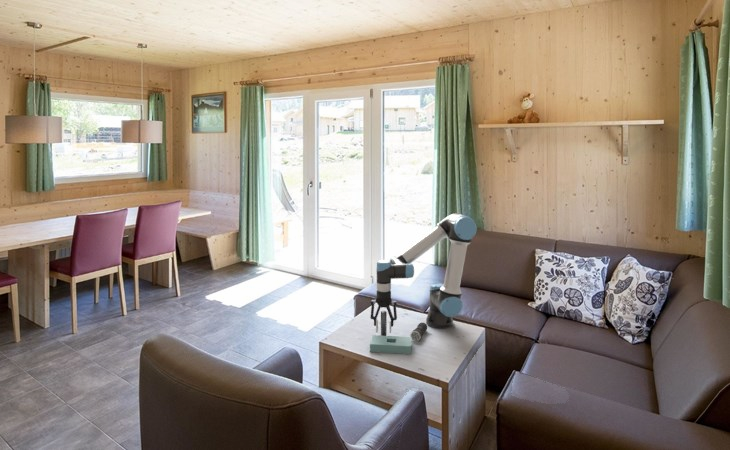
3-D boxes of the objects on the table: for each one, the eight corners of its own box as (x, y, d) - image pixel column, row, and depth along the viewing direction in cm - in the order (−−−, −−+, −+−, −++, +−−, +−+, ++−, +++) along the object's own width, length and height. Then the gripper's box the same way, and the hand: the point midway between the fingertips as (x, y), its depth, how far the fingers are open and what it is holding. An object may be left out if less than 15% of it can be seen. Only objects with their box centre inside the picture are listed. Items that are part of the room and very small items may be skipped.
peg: (386, 336, 237) (386, 311, 235) (386, 338, 234) (386, 313, 232) (381, 335, 237) (381, 310, 235) (380, 338, 234) (380, 312, 232)
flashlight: (418, 330, 245) (418, 320, 245) (428, 331, 243) (428, 322, 242) (410, 340, 231) (410, 330, 231) (420, 342, 229) (420, 332, 228)
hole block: (411, 344, 226) (411, 337, 226) (410, 354, 215) (410, 346, 215) (372, 342, 229) (372, 335, 228) (370, 351, 218) (370, 344, 218)
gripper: (402, 288, 234) (402, 329, 238) (366, 287, 236) (366, 328, 240) (402, 292, 226) (401, 335, 230) (364, 291, 229) (364, 333, 233)
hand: (383, 331), depth 235 cm, fingers open, 6 cm apart
